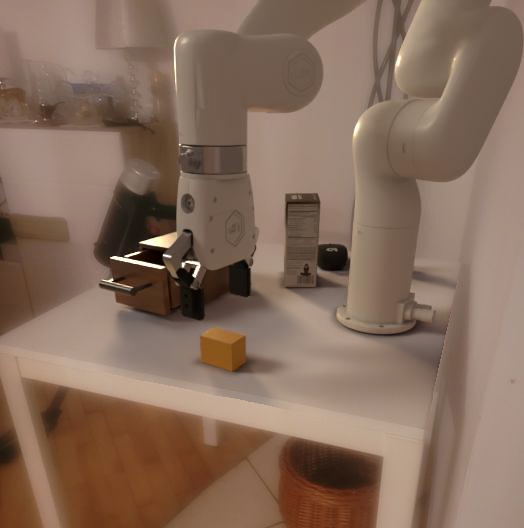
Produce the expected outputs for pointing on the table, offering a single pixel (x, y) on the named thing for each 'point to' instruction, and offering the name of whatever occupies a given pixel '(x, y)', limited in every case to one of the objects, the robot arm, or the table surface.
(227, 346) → the orange block
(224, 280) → the cabinet
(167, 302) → the drawer
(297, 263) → the coffee box
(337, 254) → the computer mouse
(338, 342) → the table surface
